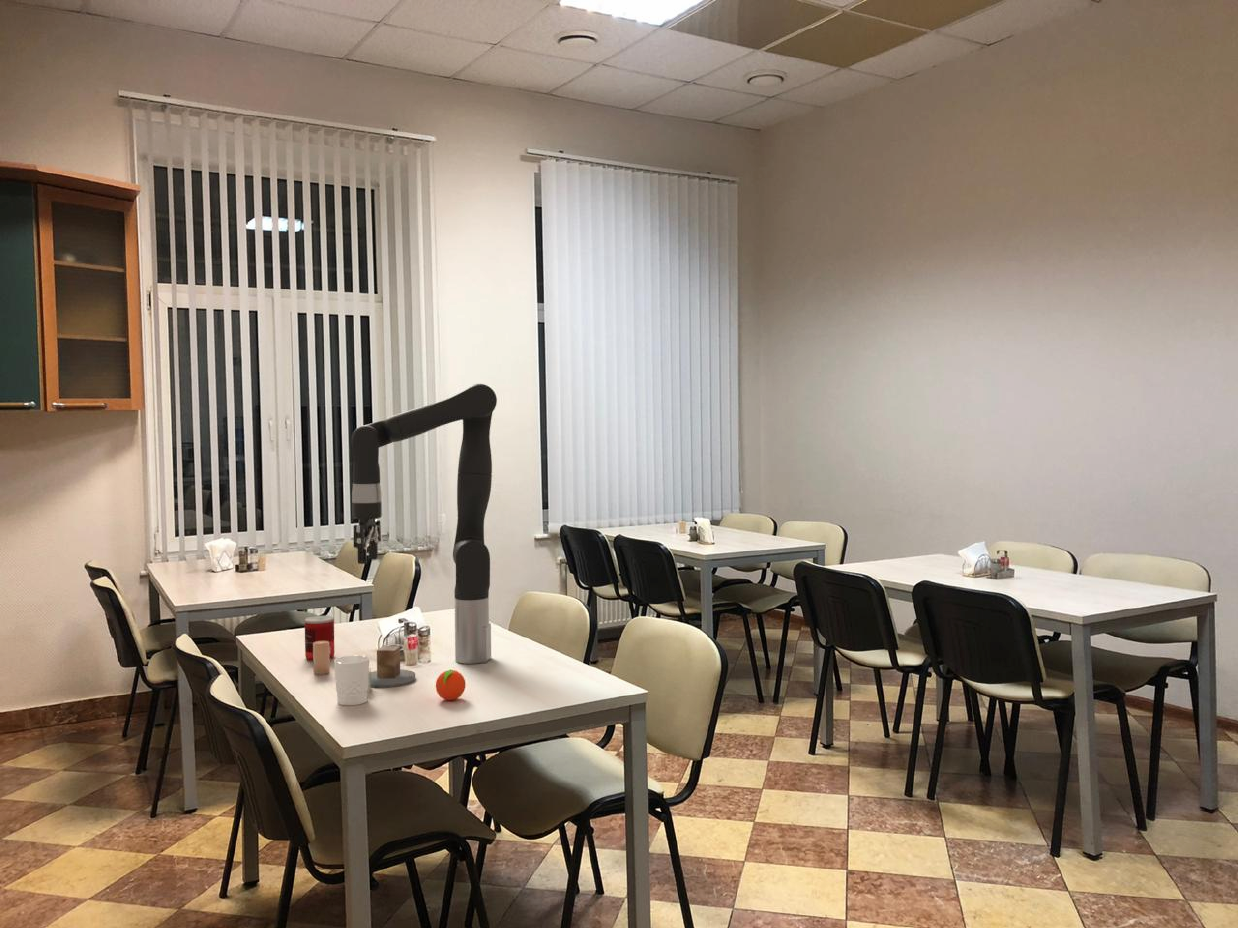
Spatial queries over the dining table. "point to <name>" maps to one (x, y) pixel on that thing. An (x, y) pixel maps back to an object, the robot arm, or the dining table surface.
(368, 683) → the sage cube
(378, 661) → the walnut block
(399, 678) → the slate coaster
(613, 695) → the dining table surface
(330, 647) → the canned food
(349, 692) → the white cup
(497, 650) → the dining table surface
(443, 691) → the clementine
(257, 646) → the dining table surface
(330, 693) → the dining table surface
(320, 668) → the cylinder
